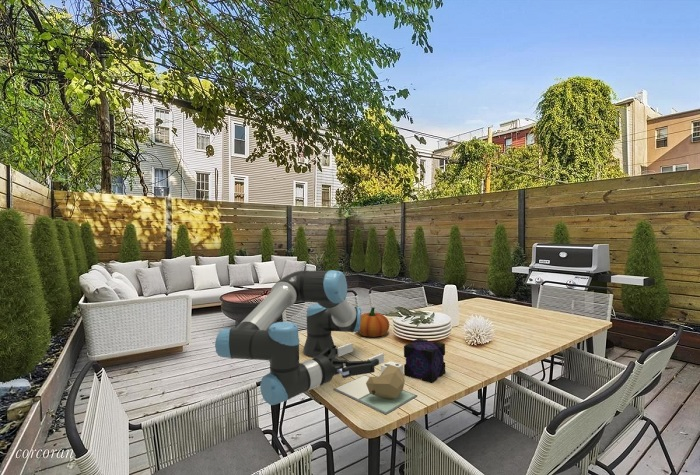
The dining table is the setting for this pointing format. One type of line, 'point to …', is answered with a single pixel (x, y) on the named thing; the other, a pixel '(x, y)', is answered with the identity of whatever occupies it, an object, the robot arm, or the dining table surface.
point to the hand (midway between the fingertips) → (366, 352)
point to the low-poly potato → (387, 383)
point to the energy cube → (424, 360)
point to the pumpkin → (373, 324)
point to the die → (391, 364)
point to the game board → (372, 396)
